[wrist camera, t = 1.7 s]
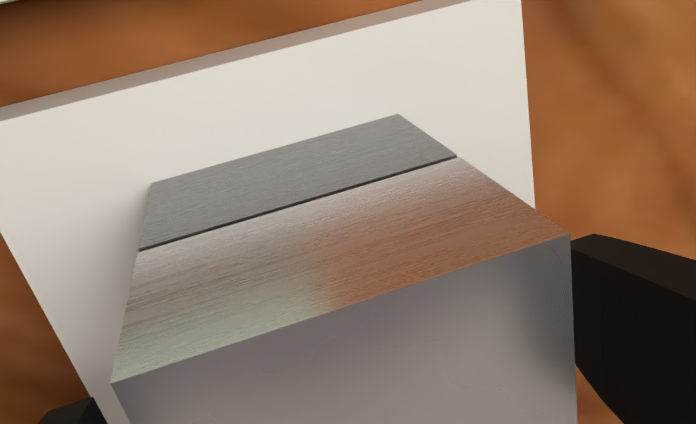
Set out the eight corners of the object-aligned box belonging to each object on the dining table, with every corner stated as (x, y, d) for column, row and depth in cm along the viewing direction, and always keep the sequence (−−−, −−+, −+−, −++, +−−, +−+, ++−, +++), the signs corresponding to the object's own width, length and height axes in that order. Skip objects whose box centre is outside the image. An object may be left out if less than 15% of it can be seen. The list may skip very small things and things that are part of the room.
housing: (444, 378, 12) (584, 608, 8) (255, 445, 12) (291, 734, 7) (398, 113, 10) (570, 233, 5) (152, 183, 9) (110, 383, 5)
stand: (515, 353, 14) (547, 393, 13) (168, 476, 13) (165, 533, 12) (478, -15, 11) (520, -12, 9) (-17, 111, 9) (-53, 134, 8)
